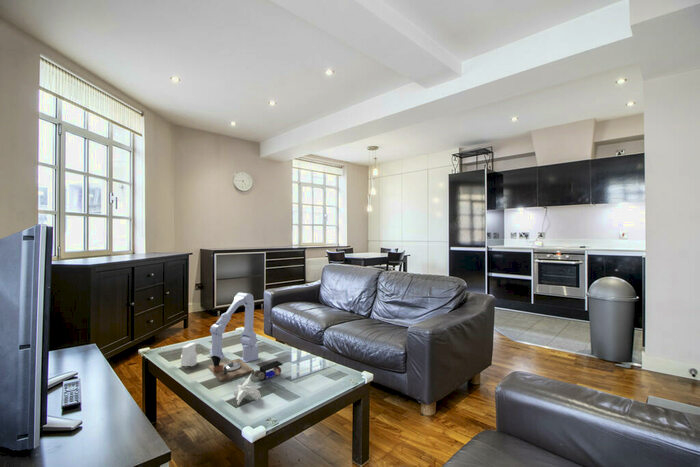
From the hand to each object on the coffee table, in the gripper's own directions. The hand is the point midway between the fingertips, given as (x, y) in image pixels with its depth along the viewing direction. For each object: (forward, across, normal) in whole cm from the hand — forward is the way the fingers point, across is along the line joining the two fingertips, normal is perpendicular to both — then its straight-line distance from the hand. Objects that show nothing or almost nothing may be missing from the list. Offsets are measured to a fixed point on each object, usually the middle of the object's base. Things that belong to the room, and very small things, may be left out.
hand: (216, 368), depth 190 cm
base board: (+3, +3, +7) cm, 8 cm away
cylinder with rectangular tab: (+3, -26, -5) cm, 26 cm away
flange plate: (+1, +2, +5) cm, 6 cm away
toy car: (+3, +29, +16) cm, 33 cm away
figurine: (+3, +41, -5) cm, 42 cm away
